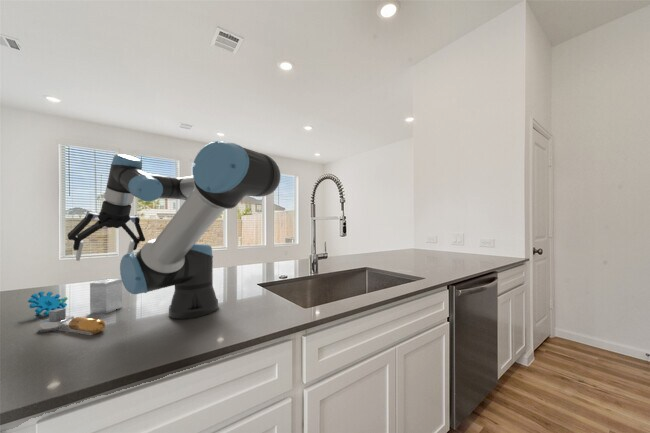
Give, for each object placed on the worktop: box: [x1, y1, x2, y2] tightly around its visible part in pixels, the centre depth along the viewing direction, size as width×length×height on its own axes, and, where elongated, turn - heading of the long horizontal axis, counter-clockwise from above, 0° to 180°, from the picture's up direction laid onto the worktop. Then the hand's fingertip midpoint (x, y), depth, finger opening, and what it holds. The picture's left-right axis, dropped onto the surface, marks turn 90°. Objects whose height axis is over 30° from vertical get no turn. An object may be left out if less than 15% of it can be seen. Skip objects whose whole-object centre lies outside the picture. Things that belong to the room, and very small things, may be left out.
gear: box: [27, 291, 69, 316], centre depth 87 cm, size 11×6×10 cm
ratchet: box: [39, 308, 107, 336], centre depth 74 cm, size 22×7×5 cm, turn 74°
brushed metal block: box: [89, 278, 123, 314], centre depth 90 cm, size 6×6×10 cm
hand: (104, 258), depth 88 cm, fingers open, 13 cm apart
